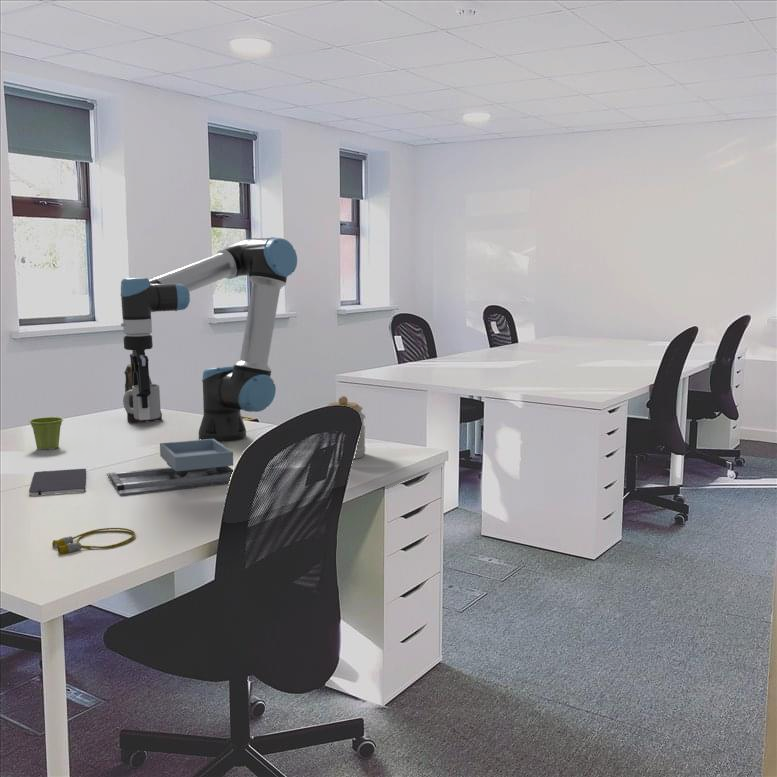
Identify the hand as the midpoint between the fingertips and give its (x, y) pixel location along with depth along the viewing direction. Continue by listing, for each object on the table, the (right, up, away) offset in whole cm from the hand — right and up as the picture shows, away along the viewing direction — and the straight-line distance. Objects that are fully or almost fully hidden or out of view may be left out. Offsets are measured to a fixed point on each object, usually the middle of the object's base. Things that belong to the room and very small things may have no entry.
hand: (142, 416), depth 232 cm
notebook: (-15, -17, -20) cm, 30 cm away
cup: (0, 0, +1) cm, 1 cm away
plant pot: (-35, -10, +21) cm, 42 cm away
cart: (+18, -13, -13) cm, 26 cm away
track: (+13, -16, -15) cm, 25 cm away
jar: (+55, -12, +14) cm, 58 cm away
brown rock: (-20, -4, +68) cm, 71 cm away
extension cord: (+10, -23, -65) cm, 69 cm away
